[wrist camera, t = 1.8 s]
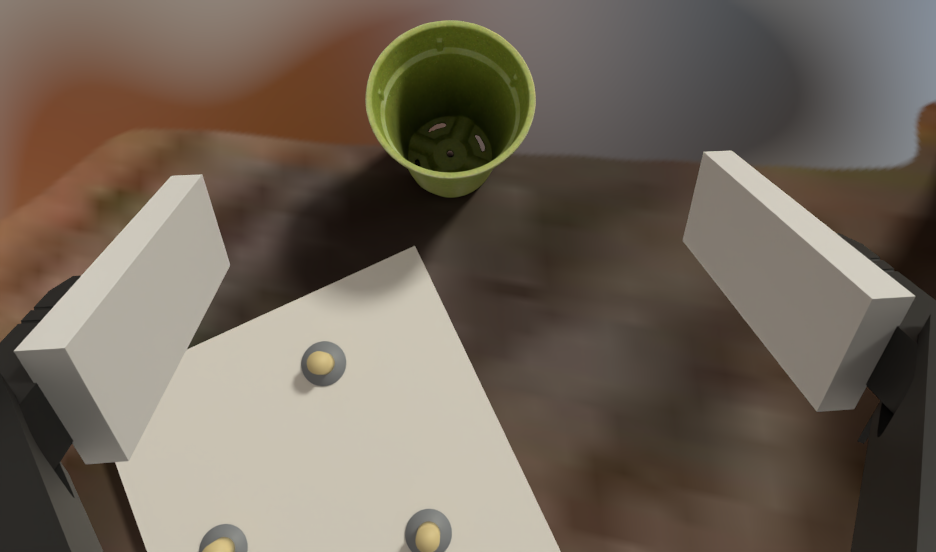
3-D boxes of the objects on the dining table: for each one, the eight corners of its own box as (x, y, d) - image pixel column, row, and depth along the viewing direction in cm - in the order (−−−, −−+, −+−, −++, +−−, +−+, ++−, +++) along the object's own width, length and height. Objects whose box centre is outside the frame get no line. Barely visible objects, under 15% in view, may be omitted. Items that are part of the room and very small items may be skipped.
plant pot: (539, 188, 39) (565, 134, 30) (418, 244, 38) (408, 204, 29) (481, 77, 40) (489, -4, 32) (362, 128, 39) (338, 58, 31)
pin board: (415, 250, 38) (413, 240, 35) (564, 561, 34) (574, 577, 32) (102, 393, 35) (74, 394, 33) (228, 743, 32) (208, 776, 29)
